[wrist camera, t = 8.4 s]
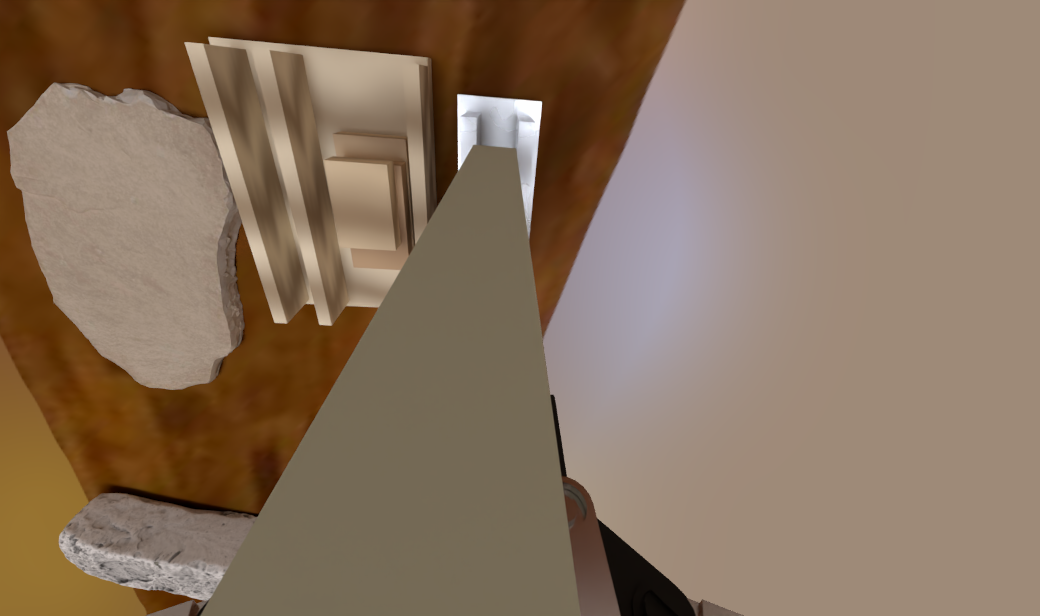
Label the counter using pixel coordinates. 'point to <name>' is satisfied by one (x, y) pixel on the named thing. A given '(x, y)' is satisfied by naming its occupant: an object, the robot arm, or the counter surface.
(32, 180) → the stone tablet
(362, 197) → the offcut stack
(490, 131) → the stand
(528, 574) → the grey-green panel
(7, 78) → the counter surface
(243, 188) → the rack
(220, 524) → the concrete block
